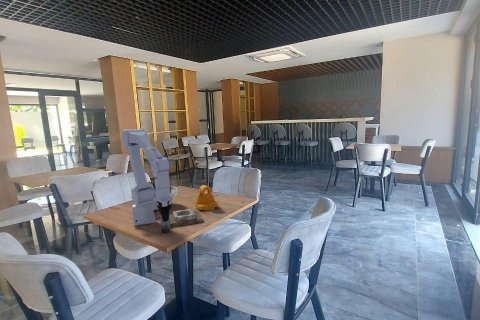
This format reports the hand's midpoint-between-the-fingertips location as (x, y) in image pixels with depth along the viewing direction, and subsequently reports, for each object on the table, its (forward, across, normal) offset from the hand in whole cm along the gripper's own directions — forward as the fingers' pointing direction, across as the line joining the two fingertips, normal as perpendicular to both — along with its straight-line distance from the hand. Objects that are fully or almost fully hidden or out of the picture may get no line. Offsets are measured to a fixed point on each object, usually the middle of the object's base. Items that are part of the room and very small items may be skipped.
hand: (165, 217), depth 110 cm
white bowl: (+6, -36, -3) cm, 37 cm away
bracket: (+6, -23, +23) cm, 33 cm away
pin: (+6, 0, 0) cm, 6 cm away
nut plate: (+6, -10, +9) cm, 15 cm away
